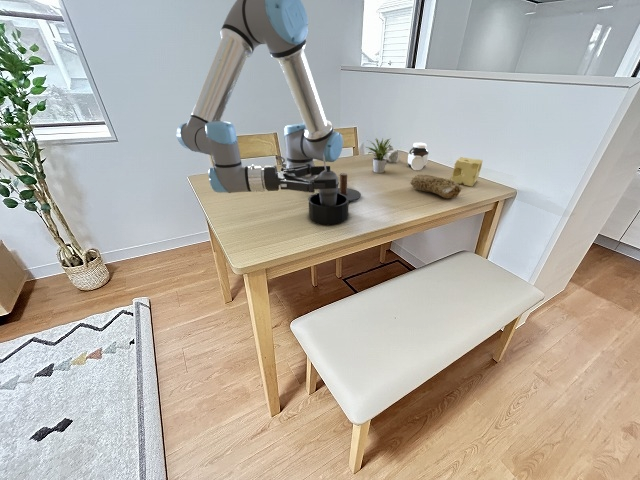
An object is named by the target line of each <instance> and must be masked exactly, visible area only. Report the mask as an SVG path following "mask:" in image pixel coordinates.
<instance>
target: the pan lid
mask: <svg viewBox="0 0 640 480" xmlns="http://www.w3.org/2000/svg"><path fill="white" fill-rule="evenodd" d="M337 193H341V194H344V195H345V196H347V197H348V199H349V203H350V202H354V201H355V202H356V201H357V200H359V199H360V198H361V196H362V194H361V192H360V191H359V190H357V189H355V188H350V187H348V174H347V173H346V172H342V173H341V172H340V174H339V187H338V190H337Z"/></svg>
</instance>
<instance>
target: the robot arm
mask: <svg viewBox="0 0 640 480" xmlns="http://www.w3.org/2000/svg"><path fill="white" fill-rule="evenodd" d="M308 25H309V20H308V14H307V10H306V8H305V6H304V3H303V2H302V0H235V2H234V3H233V5H232V6H231V8H230V10H229V11H228V13H227V15H226V17H225V19H224V22H223V24H222V26H221V29H220V31H219V35H220V37H221V40H220V43H219V45H218V48H217V49H216V52H215V55H214V57H213V60H212V62H211V65H210V66H209V70H208V72H207V75H206V77H205V80H204V81H203V84H202V87H201V88H200V91H199V94H198V96H197V100H196V102H195V104H194V106H193V109H192V112H191V113H190V116H189V118H188V121H187V122H185V123H181V124H180V125H179V126H178V127H177V129H176V139H177V141H178V142H179V144H180V146H182V147H183V148H185V149H187V150H190V151H191V152H195V153H200V154H204V155H208V156H211V157H212V160H213V164H214V166H212V167H209V169H208V181H209V185H210V188H211V189H212V190H213V192H215V193H219V194H220V193H221V194H223V193H224V194H225V193H226V194H232V193H233V194H235V193H256V192H258V193H260V192H261V193H263V192H266V191H267V192H278V191H279V190H287V191H288V190H290V191H296V192H304V193H312V194H315V190H318V189H333V188H336V179H318V176H319V174H320V173H321V172H322V171H324V170H325V167H324V165H315V164H314V160H317V161H321V162H324V160H323V155H324V156H325V163H334V162H336V161H337V160H338V159H339V158H340V156H341V154H342V151H343V146H344V137H343V135H342V134H341V132H339V131H335V129H334V127H333V123H332V122H331V121H330V120H328V119H327V117H326V114H325V112H324V108H323V105H322V101H321V99H320V96H319V93H318V90H317V87H316V84H315V80H314V78H313V74H312V71H311V68H310V65H309V62H308V58H307V56H306V52H305V48H306V46H307V41H306V38H307V36H308V33H309V28H308ZM261 45H266V47H267V50H268V51H269V54H270V56H271V58H272V59H274V60H276V61H278V63H279V66H280V68H281V71H282V73H283V76H284V78H285V81H286V83H287V85H288V88H289V90H290V93H291V96H292V98H293V100H294V103H295V105H296V108H297V111H298V112H299V113H298V114H299V115H300V118H301V120H302V123H294V124H288V125H285V127H284V128H283V138H284V146H285V155H286V159H285V158H284V157H283V156H281V155H276V156H275V159H281V160H282V161H281V163H280V165H281V166H282V167H280V171H278V167H277V165H264V167H263V166H262V165H255V164H253V163H252V164H251V165H246V166H245V165H244V166H243V163H242V157H241V152H240V147H239V139H238V136H237V131H236V129H235V125H234V124H233V123H232V122H230V121H227V120H226V121H224V120H222V119H223V116H224V113H225V111H226V109H227V106H228V104H229V101H230V99H231V97H232V95H233V92H234V90H235V88H236V84H237V82H238V80H239V78H240V74H241V72H242V70H243V67H244V65H245V62H246V61H247V58H251V57H252V56H253V53H254V51H255V49H256V48H257V47H259V46H261ZM285 162H286V164H284V163H285ZM326 170H331V165H326Z"/></svg>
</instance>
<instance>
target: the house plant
mask: <svg viewBox="0 0 640 480" xmlns="http://www.w3.org/2000/svg"><path fill="white" fill-rule="evenodd" d="M366 141H368V142H369V143H371V144H372V145H373V147H374V148H373V147H369V146H365V148H366V150H368V152H367V155H369V154H371V153H372V154H373V155H376V156H377V157H375V156H374V157H372V167H373V172H374V173H376V174H383V173H384V172H385V169H386V165H387V162H388V161H387V159H386V158H383V157H384V156H385V154H387V153H389V152H386V151H388V150H386V149H387V148H388V147H389V146H391V144H392V142H391V138H388V139H385V140H384V138H383V137H382V138H381V141H380V140H379V139H378V138H377V137H375V138H374V141H375V142H376V144H375V143H374V142H373V141H371V140H367V139H366Z"/></svg>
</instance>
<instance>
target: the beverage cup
mask: <svg viewBox="0 0 640 480" xmlns="http://www.w3.org/2000/svg"><path fill="white" fill-rule="evenodd" d="M323 160H324V161H323V166H324V167H325V170H324V171H322V172H321V173H320V174H319V175H318V179H336V188H333V189H317V190H318V193H319V196H320V204H321V206H336V201H337V190H338V188H339V187H340V179H339V177H338V175H337V173H336V172H335V171H333V170H331V169H330V170H326V166H327V165H326V163H327V162H325V156H324V155H323Z"/></svg>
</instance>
